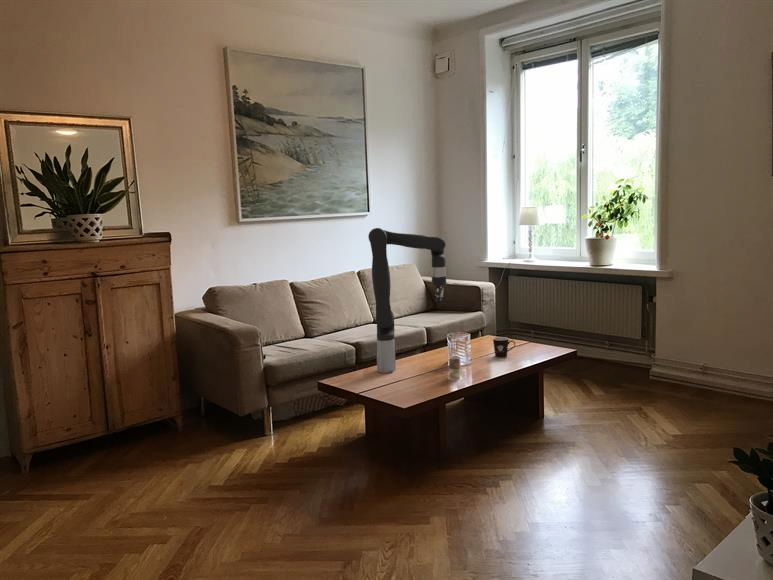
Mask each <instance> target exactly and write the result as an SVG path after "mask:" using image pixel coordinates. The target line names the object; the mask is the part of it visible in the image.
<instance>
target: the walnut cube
mask: <svg viewBox="0 0 773 580" xmlns="http://www.w3.org/2000/svg"><path fill="white" fill-rule="evenodd" d="M449 369H460V370H461V356H449V358H448V370H449Z"/></svg>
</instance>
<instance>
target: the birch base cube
mask: <svg viewBox="0 0 773 580" xmlns="http://www.w3.org/2000/svg"><path fill="white" fill-rule="evenodd" d="M448 372H449V374H448V377H449V379H460V376H461V368H460V369H449V368H448Z"/></svg>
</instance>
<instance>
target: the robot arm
mask: <svg viewBox="0 0 773 580" xmlns="http://www.w3.org/2000/svg"><path fill="white" fill-rule="evenodd" d="M367 237H368V241H369V243H370V249H371V254H372V255H371V256H372V258H371V259H372V260H371V279H372V288H373V294H374V298H375V299H374V300H375V322H376V346H377V347H376V350H377V353H376V369H377V370H376V371H377V373H382V374H391V373H394V372H395V371H396V369H397V368H396V367H397V366H396V344H395V343H396V342H395V315H394V312H393V311H392V307H391V302H390V301H391V272H390V265H389V261H388V255H387V253H388V252H387V251H388V250H387V245H392V246H394V245H395V246H399V247H405V248H411V249H412V248H413V249H420V250H429V251H430V252H431V285H433V286H435V288H434V292H435V293H434V296H435V301H436V308H437V309H440V308H441V307H442V305H443V304H444V302H443V301H444V300H443V297H444V286H445V285H447V270H446V257H445V255H444V253H445V251H444V249H445V248H446V241H445V239H444V238H442V237H440V236H427V235H422V234H415V233H413V234H412V233H401V232H393V231H390V230H389V231H388V230H386V229H382V228H380V227H375V228H372V229H371V230H370V231H369V233H368V236H367Z"/></svg>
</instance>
